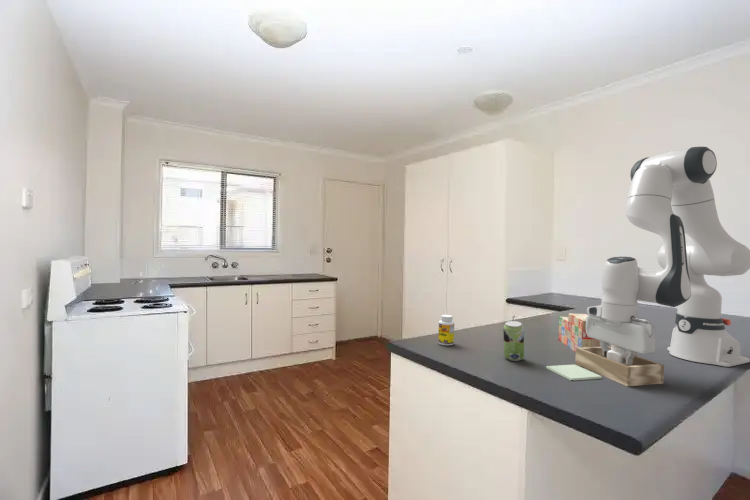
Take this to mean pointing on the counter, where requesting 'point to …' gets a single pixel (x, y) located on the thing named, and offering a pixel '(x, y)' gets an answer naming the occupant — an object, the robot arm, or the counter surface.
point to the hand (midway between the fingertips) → (616, 360)
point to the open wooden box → (620, 368)
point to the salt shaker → (616, 354)
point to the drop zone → (573, 372)
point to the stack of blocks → (575, 332)
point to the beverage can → (513, 340)
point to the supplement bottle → (446, 330)
